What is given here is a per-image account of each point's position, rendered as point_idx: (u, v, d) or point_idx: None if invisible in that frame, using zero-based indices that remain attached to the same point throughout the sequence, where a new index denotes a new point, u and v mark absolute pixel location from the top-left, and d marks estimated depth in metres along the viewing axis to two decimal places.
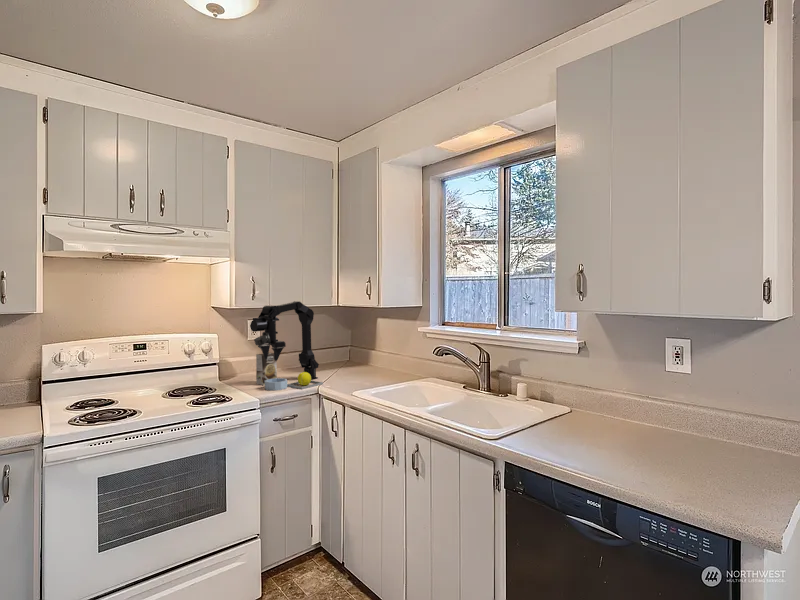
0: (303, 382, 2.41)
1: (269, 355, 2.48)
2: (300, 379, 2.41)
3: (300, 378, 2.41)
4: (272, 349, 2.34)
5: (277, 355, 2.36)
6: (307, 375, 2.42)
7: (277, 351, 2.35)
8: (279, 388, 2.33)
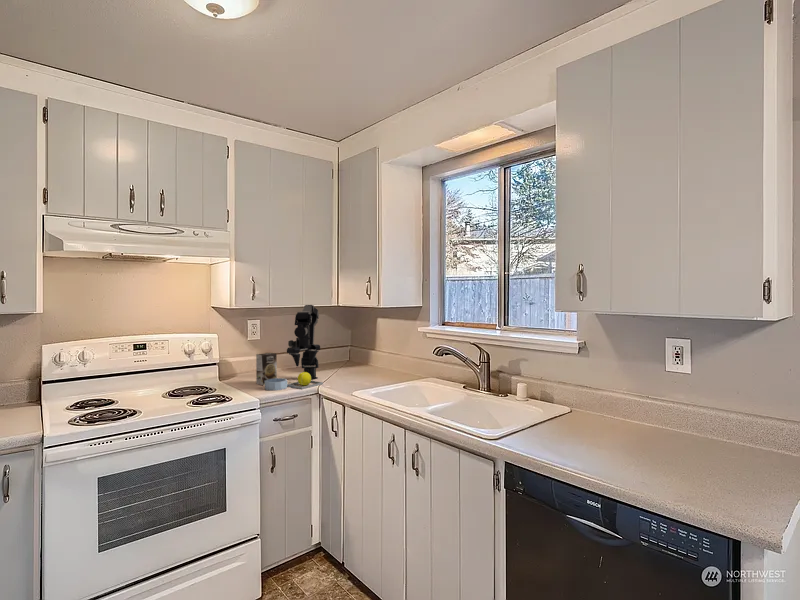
0: (303, 382, 2.41)
1: (269, 355, 2.48)
2: (300, 379, 2.41)
3: (300, 378, 2.41)
4: None
5: (296, 361, 2.39)
6: (307, 375, 2.42)
7: (295, 357, 2.39)
8: (279, 388, 2.33)
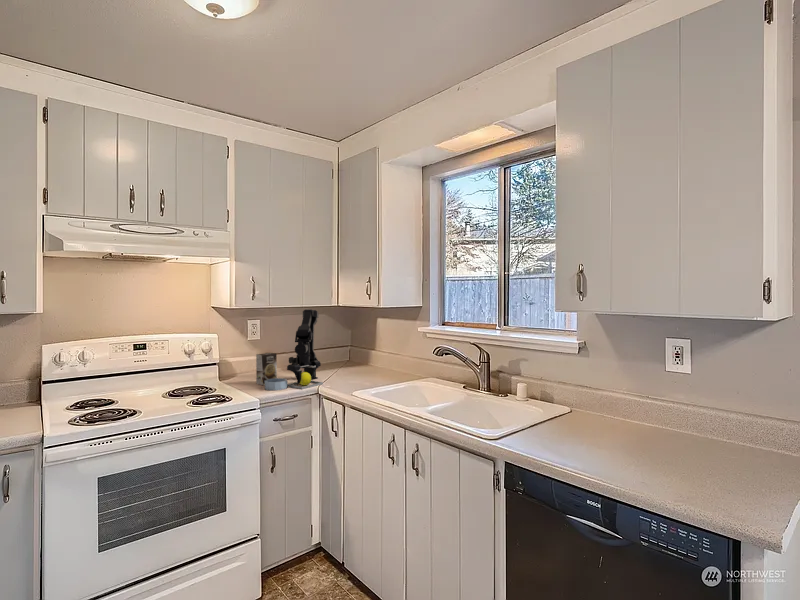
0: (303, 382, 2.41)
1: (269, 355, 2.48)
2: None
3: None
4: (294, 371, 2.42)
5: (297, 378, 2.40)
6: (307, 375, 2.42)
7: (297, 374, 2.40)
8: (279, 388, 2.33)
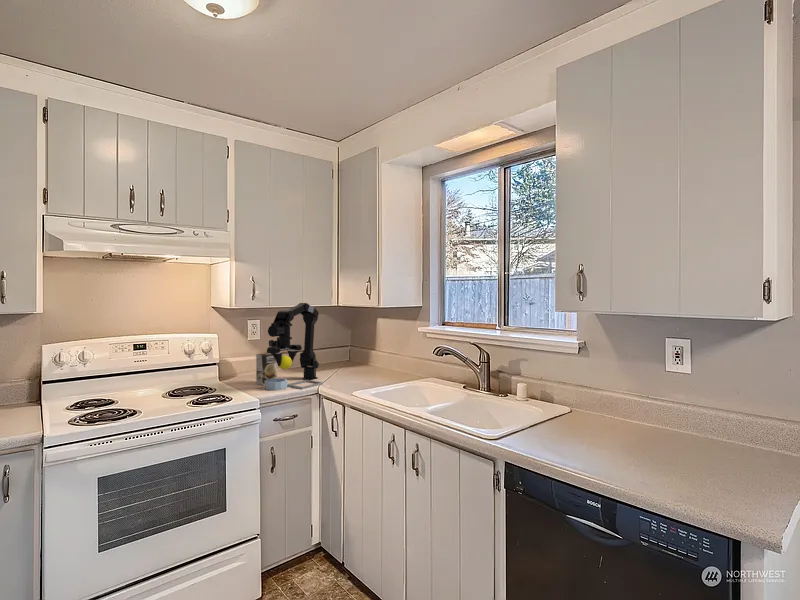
0: (283, 365, 2.36)
1: (269, 355, 2.48)
2: None
3: None
4: None
5: (277, 361, 2.35)
6: (288, 358, 2.37)
7: (277, 357, 2.35)
8: (279, 388, 2.33)
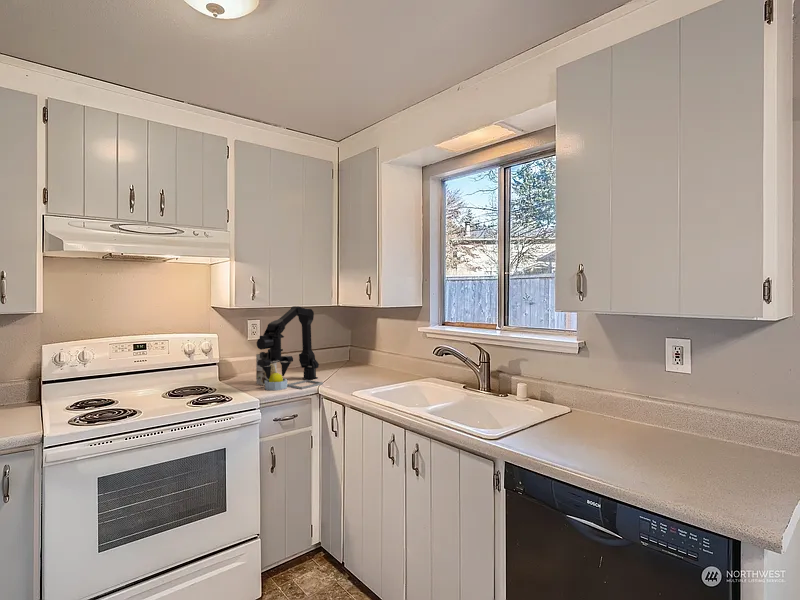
0: None
1: None
2: (271, 380, 2.35)
3: (271, 379, 2.35)
4: (264, 366, 2.35)
5: (267, 373, 2.33)
6: (278, 375, 2.36)
7: (266, 369, 2.33)
8: (279, 388, 2.33)
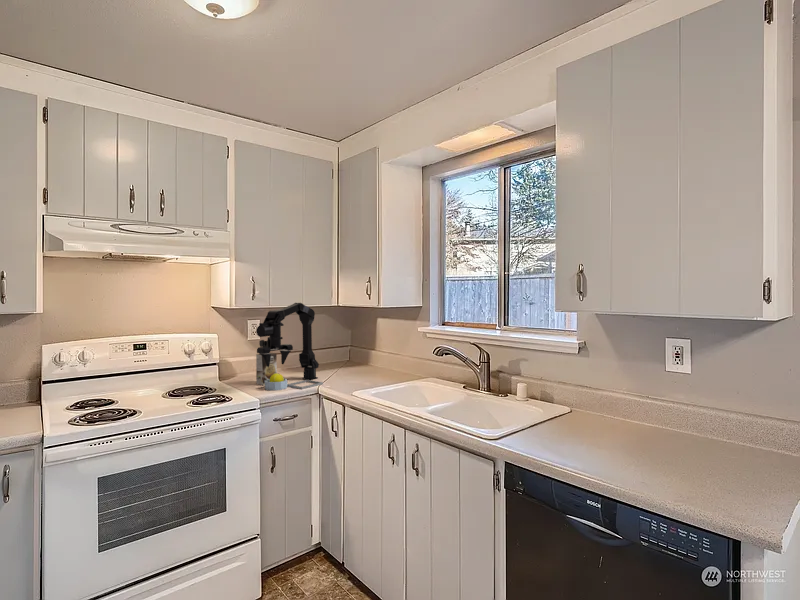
0: None
1: None
2: (272, 380, 2.35)
3: (272, 379, 2.35)
4: None
5: (266, 361, 2.33)
6: (280, 376, 2.36)
7: (266, 357, 2.33)
8: (279, 388, 2.33)
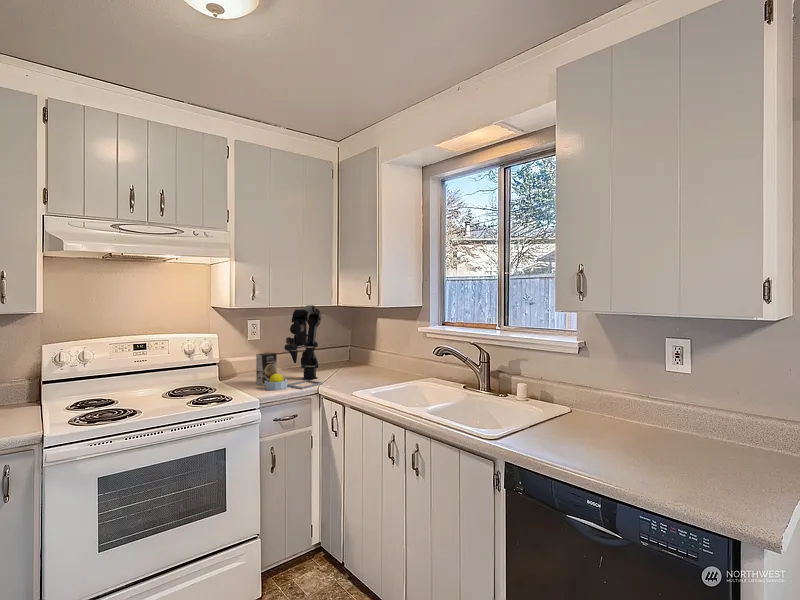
0: None
1: (269, 355, 2.48)
2: (272, 381, 2.35)
3: (272, 380, 2.35)
4: None
5: (293, 357, 2.42)
6: (279, 376, 2.36)
7: (293, 354, 2.41)
8: (279, 388, 2.33)
